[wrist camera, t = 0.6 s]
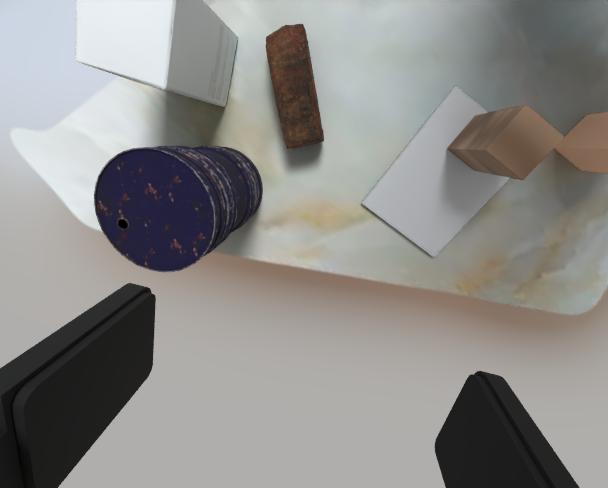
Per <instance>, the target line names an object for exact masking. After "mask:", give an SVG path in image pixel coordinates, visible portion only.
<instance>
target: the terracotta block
mask: <svg viewBox="0 0 608 488" xmlns="http://www.w3.org/2000/svg"><path fill="white" fill-rule="evenodd" d="M554 149H556V150H557V151H558V152H559V153H560V154H562V155H563V156H564V157H565V158H566V159H567V160H569V161H570V162H571V163H572V164H573V165H575V166H576V167H577V168H578V169H579V170H581V171H588V172H598V173H607V174H608V112H602V113H594V114H587V115H586V116H585V117H584V118H583V119H582V120H581V121H580V122H579V123H578V124H577V125H576V126H575V127H574V128H573V129H572V130H571V131H570V132H569V133H568V134H567V135H566V136H565V137H564V138H563V139H562V141H561V142H560V143H559V144H558V145H557V146H556V147H555V148H554Z"/></svg>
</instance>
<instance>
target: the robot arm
mask: <svg viewBox="0 0 608 488" xmlns="http://www.w3.org/2000/svg"><path fill="white" fill-rule="evenodd" d="M155 301H156V299H155V295H154V294H151V290H150V288H148V287H144V286H140V285H136V284H132V283H129V284H126V285H124V286H123V287H121V288H120V289H118V290H117V291H115V292H114V293H113V294H111V295H110V296H108V297H107V298H105V299H104V300H102V301H101V302H99V303H98V304H96V305H95V306H93V307H92V308H90V309H89V310H87V311H86V312H84V313H83V314H81V315H80V316H78V317H77V318H75V319H74V320H72V321H71V322H69V323H68V324H66V325H65V326H63V327H62V328H60V329H59V330H57V331H56V332H54V333H53V334H51V335H50V336H48V337H47V338H45V339H44V340H42V341H41V342H39V343H38V344H36V345H35V346H33V347H32V348H30V349H29V350H27V351H26V352H24V353H23V354H21V355H20V356H18V357H17V358H15V359H14V360H12V361H11V362H9V363H8V364H6V365H5V366H3V367H2V368H0V488H58V487H59V485H60V484H61V483H62V482H63V481H64V479H65V478H66V477H67V476H68V474H69V473H70V472H71V471H72V469H73V468H74V467H75V466H76V465H77V463H78V462H79V461H80V460H81V458H82V457H83V456H84V455H85V453H86V452H87V451H88V450H89V449H90V447H91V446H92V445H93V444H94V442H95V441H96V440H97V439H98V438H99V436H100V435H101V434H102V433H103V431H104V430H105V429H106V428H107V426H108V425H109V424H110V423H111V422H112V420H113V419H114V418H115V417H116V416H117V414H118V413H119V412H120V411H121V409H122V408H123V407H124V406H125V405H126V403H127V402H128V401H129V400H130V398H131V397H132V396H133V395H134V393H135V392H136V391H137V390H138V388H139V387H140V386H141V385H142V384H143V382H144V381H145V380H146V379H147V377H148V376H149V374H150V372H151V370H152V365H153V346H154V323H155ZM435 453H436V456H437V460H438V463H439V467H440V470H441V473H442V477H443V480H444V483H445V486H446V488H579V486H578V485H577V484H576V482H575V481H574V479H573V478H572V476H571V475H570V473H569V472H568V470H567V469H566V468H565V466H564V465H563V463H562V462H561V460H560V459H559V458H558V456H557V455H556V453H555V452H554V450H553V449H552V447H551V446H550V444H549V443H548V442H547V440H546V439H545V437H544V436H543V435H542V433H541V431H540V430H539V429H538V427H537V426H536V424H535V423H534V421H533V420H532V418H531V417H530V415H529V414H528V412H527V411H526V410H525V408H524V407H523V405H522V404H521V402H520V401H519V399H518V398H517V397H516V395H515V394H514V392H513V391H512V389H511V388H510V386H509V385H508V383H507V382H506V381H505V380H504V378H503V377H501V376H498V375H494V374H490V373H486V372H482V371H477V372H476V373H475V374H474V375H470V376H469V377H468V378H467V380H466V382H465V384H464V386H463V388H462V390H461V392H460V394H459V396H458V397H457V399H456V401H455V403H454V405H453V407H452V410H451V411H450V413H449V415H448V417H447V419H446V421H445V423H444V425H443V427H442V429H441V431H440V433H439V434H438V436H437V438H436V442H435Z"/></svg>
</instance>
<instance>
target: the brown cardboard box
mask: <svg viewBox="0 0 608 488" xmlns="http://www.w3.org/2000/svg"><path fill="white" fill-rule="evenodd" d="M563 138H564V136H563V135H562V134H561V133H560V132H558V131H557V130H556V129H555V128H554V127H553V126H551V125H550V124H549V123H548V122H547V121H545V120H544V119H543V118H542V117H541V116H540V115H538V114H537V113H536V112H535V111H534V110H532V109H531V108H530V107H529V106H528V105H527V104H526V105H521V106H517V107H512V108H508V109H503V110H498V111H494V112H489V113H485V114H480V115H476V116H474V117H473V118H472V119H471V121H470V122H469V123H468V124H467V125H466V126H465V128H464V129H463V130H462V131H461V132H460V134H459V135H458V136H457V137H456V138H455V139H454V141H453V142H452V143H451V144H450V145H449V146H448V148H447V149H448V150H449V151H450V152H451V153H453V154H454V155H455V156H456V157H458V158H459V159H460V160H461V161H463V162H464V163H465V164H466V165H468V166H469V167H470V168H471V169H473V170H474V171H477V172H482V173H488V174H493V175H499V176H504V177H509V178H515V179H520V180H523V179H524V178H525V177H526V176H527V175H528V174H529V173H530V172H531V171H532V170H533V169H534V168H535V167H536V166H537V165H538V164H539V163H540V162H541V161H542V160H543V159H544V158H545V157H546V156H547V155H548V154H549V153H550V152H551V151H552V150H553V149H554V148H555V147H556V146H557V145H558V144H559V143H560V142H561V141H562V139H563Z"/></svg>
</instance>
